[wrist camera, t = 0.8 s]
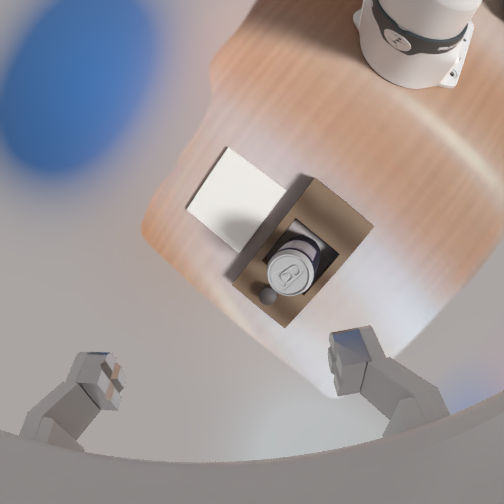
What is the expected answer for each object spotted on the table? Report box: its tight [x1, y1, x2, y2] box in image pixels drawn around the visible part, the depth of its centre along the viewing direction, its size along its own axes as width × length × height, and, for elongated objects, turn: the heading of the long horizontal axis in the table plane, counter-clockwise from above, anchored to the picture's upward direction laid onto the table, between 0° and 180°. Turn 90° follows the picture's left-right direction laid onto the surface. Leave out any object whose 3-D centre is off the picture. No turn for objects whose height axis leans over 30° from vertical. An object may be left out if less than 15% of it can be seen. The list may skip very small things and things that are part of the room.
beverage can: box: [267, 236, 321, 296], centre depth 40 cm, size 6×6×12 cm
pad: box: [187, 147, 287, 253], centre depth 47 cm, size 12×11×1 cm
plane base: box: [232, 178, 374, 328], centre depth 44 cm, size 20×10×4 cm, turn 143°
